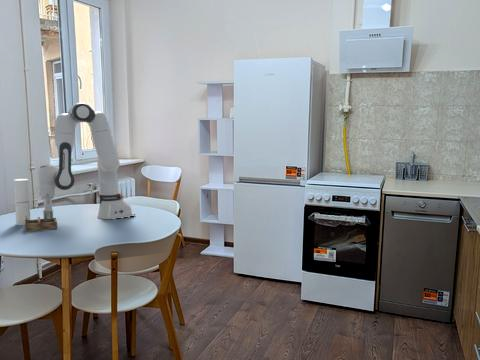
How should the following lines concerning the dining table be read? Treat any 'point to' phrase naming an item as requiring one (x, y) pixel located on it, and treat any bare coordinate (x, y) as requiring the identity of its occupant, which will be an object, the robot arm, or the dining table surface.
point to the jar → (46, 214)
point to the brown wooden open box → (40, 224)
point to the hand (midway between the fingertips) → (48, 216)
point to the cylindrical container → (21, 200)
